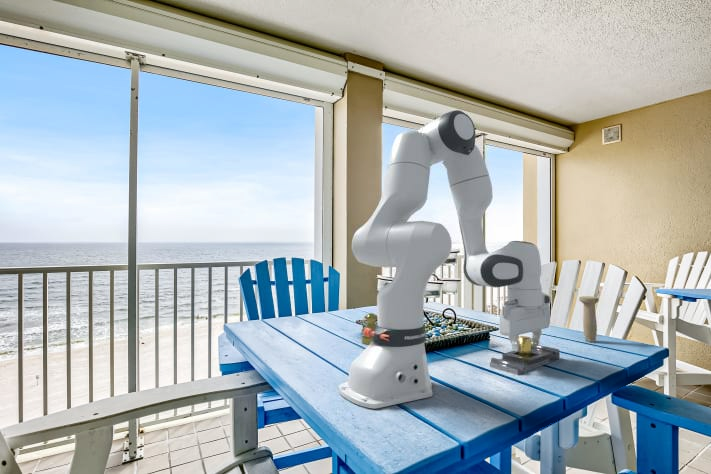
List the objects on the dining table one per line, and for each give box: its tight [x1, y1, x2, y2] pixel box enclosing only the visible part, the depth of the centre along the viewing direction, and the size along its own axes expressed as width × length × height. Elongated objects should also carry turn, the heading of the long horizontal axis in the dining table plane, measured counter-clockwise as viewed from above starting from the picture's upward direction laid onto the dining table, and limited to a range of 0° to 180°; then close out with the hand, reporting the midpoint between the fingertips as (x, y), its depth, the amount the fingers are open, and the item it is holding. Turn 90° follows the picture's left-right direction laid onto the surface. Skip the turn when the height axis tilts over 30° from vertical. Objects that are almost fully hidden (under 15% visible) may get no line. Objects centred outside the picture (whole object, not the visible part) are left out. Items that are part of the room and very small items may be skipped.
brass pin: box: [518, 335, 532, 358], centre depth 102 cm, size 3×3×7 cm
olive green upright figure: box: [360, 312, 377, 345], centre depth 127 cm, size 7×7×10 cm
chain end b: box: [502, 344, 561, 365], centre depth 103 cm, size 16×9×3 cm, turn 125°
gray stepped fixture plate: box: [489, 357, 549, 376], centre depth 100 cm, size 16×9×2 cm, turn 125°
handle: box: [578, 295, 600, 343], centre depth 124 cm, size 5×6×15 cm
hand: (525, 347), depth 101 cm, fingers open, 8 cm apart
